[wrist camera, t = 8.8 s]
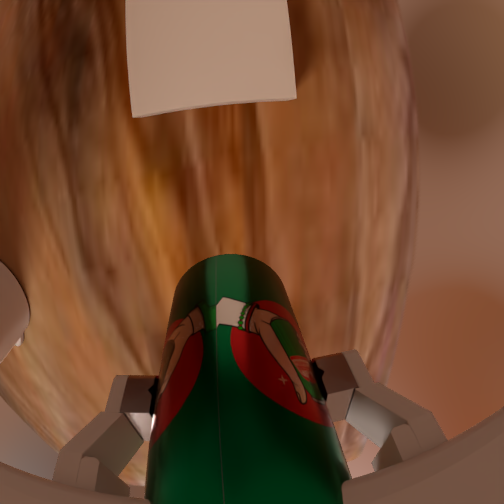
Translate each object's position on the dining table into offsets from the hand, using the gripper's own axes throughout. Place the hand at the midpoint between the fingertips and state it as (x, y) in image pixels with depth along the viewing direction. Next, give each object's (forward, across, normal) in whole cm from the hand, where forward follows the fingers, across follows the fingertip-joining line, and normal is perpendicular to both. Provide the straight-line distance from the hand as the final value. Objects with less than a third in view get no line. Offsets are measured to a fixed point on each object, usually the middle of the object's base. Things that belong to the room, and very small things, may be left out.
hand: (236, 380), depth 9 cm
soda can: (+5, 0, 0) cm, 5 cm away
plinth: (+23, 0, +16) cm, 28 cm away
